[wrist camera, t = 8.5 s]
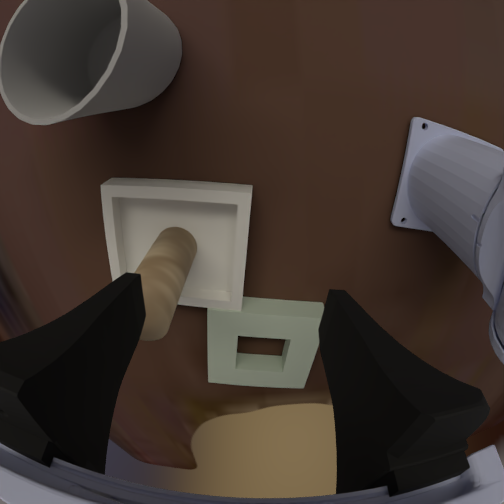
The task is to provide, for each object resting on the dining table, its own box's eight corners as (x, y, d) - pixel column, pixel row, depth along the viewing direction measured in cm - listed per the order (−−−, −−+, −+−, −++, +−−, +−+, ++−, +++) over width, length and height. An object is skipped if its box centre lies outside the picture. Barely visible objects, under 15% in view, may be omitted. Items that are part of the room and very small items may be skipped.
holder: (322, 302, 24) (326, 318, 22) (301, 372, 29) (303, 388, 27) (210, 293, 24) (207, 309, 22) (210, 366, 28) (208, 382, 27)
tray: (252, 185, 20) (252, 193, 18) (242, 296, 24) (241, 311, 23) (111, 177, 20) (100, 185, 18) (123, 283, 24) (115, 296, 22)
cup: (180, 108, 17) (120, 118, 10) (55, 115, 17) (-33, 140, 9) (190, 5, 14) (141, -50, 6) (61, 26, 14) (-24, 14, 6)
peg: (202, 235, 21) (175, 309, 14) (190, 269, 22) (162, 348, 15) (162, 220, 20) (117, 286, 13) (152, 255, 22) (111, 327, 15)
